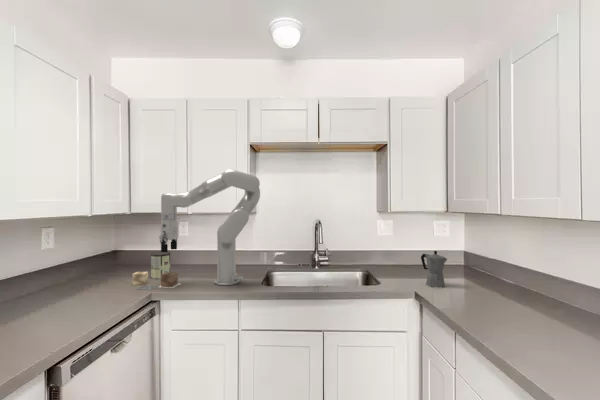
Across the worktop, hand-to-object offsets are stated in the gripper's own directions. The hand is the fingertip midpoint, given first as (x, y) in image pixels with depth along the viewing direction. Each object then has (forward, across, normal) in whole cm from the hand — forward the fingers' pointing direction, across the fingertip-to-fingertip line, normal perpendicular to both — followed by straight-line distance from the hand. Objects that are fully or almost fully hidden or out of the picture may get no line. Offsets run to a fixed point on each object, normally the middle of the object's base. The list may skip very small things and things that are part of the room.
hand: (169, 250), depth 175 cm
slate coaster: (+18, -6, +8) cm, 21 cm away
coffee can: (+18, +17, +14) cm, 29 cm away
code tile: (+18, 0, 0) cm, 18 cm away
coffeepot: (+19, +19, -136) cm, 139 cm away
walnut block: (+18, 0, 0) cm, 18 cm away
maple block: (+18, +2, +17) cm, 25 cm away
